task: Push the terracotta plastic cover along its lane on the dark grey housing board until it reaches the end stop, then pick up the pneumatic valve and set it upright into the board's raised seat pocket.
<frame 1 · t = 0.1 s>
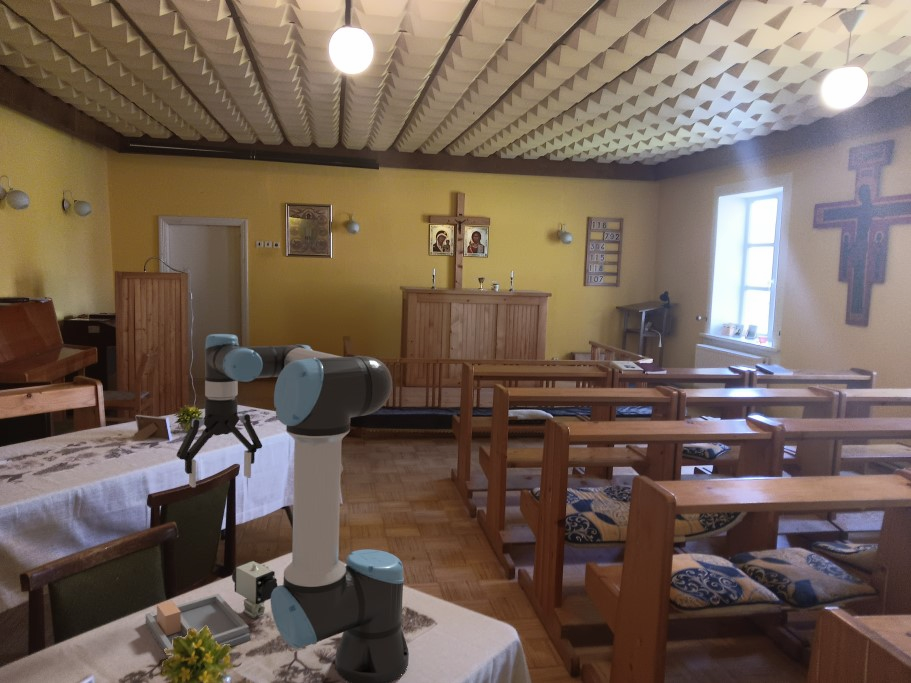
hand: (220, 481, 156), 28 cm above the table, fingers open, 13 cm apart
housing: (197, 631, 139), on the table
cover: (168, 617, 138), point 4 cm above the table, slide at 0.0 cm
pneumatic valve: (255, 613, 148), on the table
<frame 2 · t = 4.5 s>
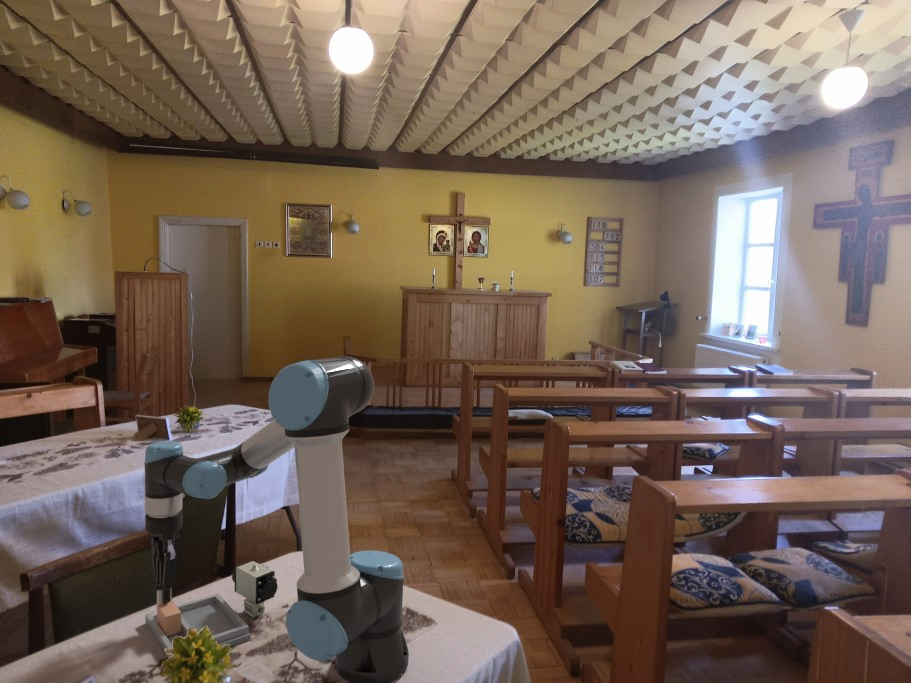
hand: (164, 613, 140), 3 cm above the table, fingers closed
cover: (169, 618, 138), point 4 cm above the table, slide at 0.4 cm, touching gripper
everything else where it was.
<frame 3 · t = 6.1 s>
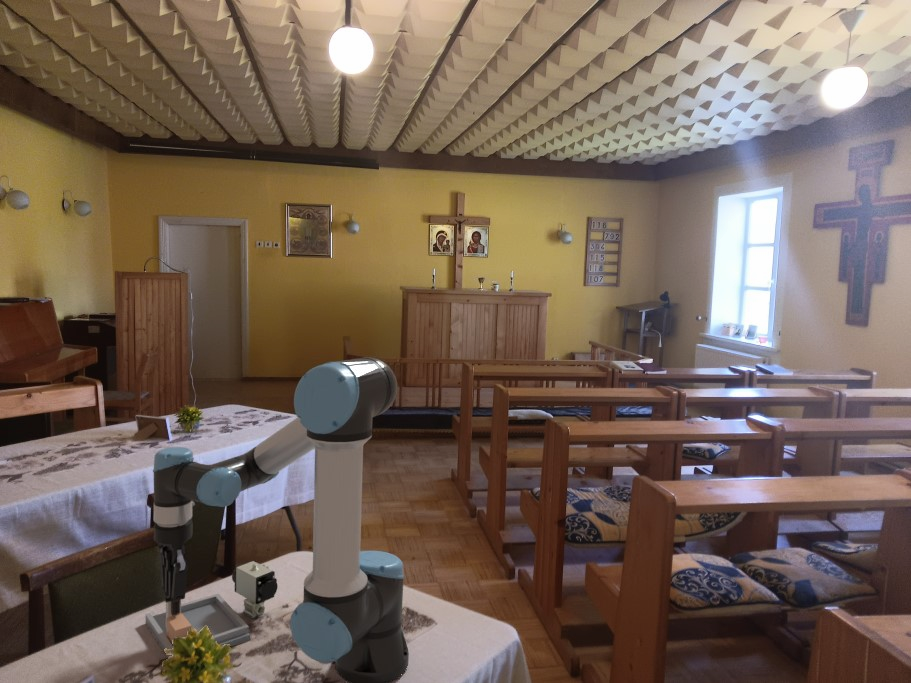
hand: (173, 626, 135), 3 cm above the table, fingers closed
cover: (178, 631, 133), point 4 cm above the table, slide at 6.9 cm, touching gripper
everything else where it was.
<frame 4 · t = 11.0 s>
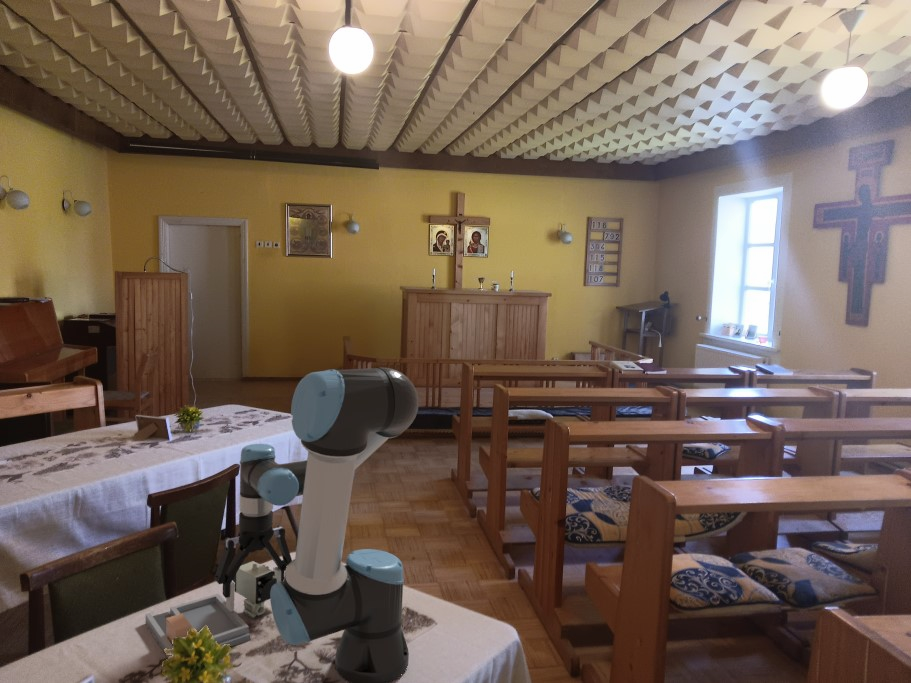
hand: (253, 601, 148), 3 cm above the table, fingers open, 11 cm apart
cover: (178, 631, 133), point 4 cm above the table, slide at 6.9 cm
everything else where it was.
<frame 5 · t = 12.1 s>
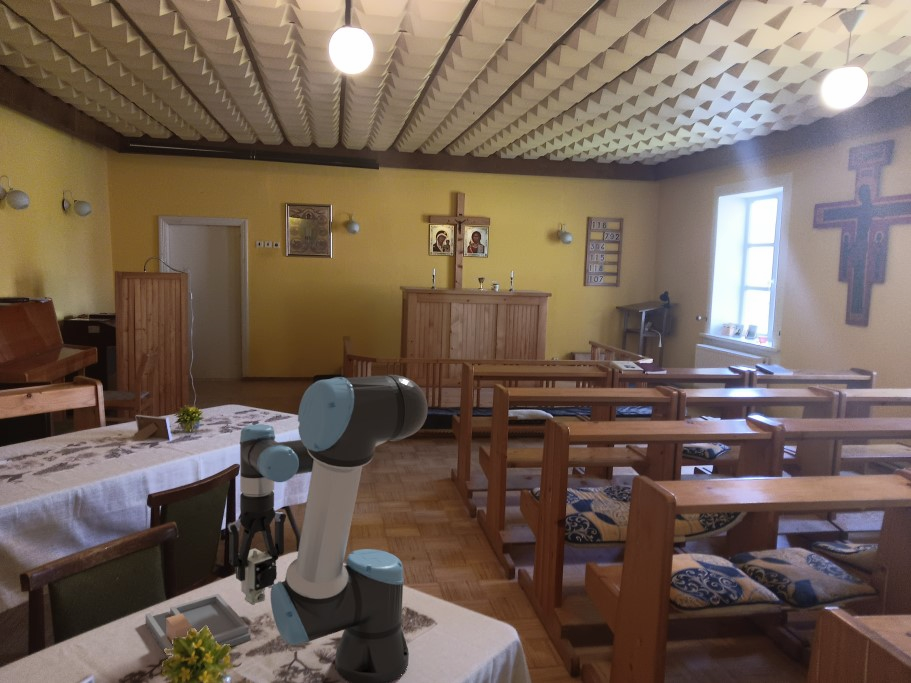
hand: (257, 588, 147), 6 cm above the table, fingers closed on pneumatic valve, 5 cm apart
pneumatic valve: (256, 601, 147), point 3 cm above the table, touching gripper
everything else where it was.
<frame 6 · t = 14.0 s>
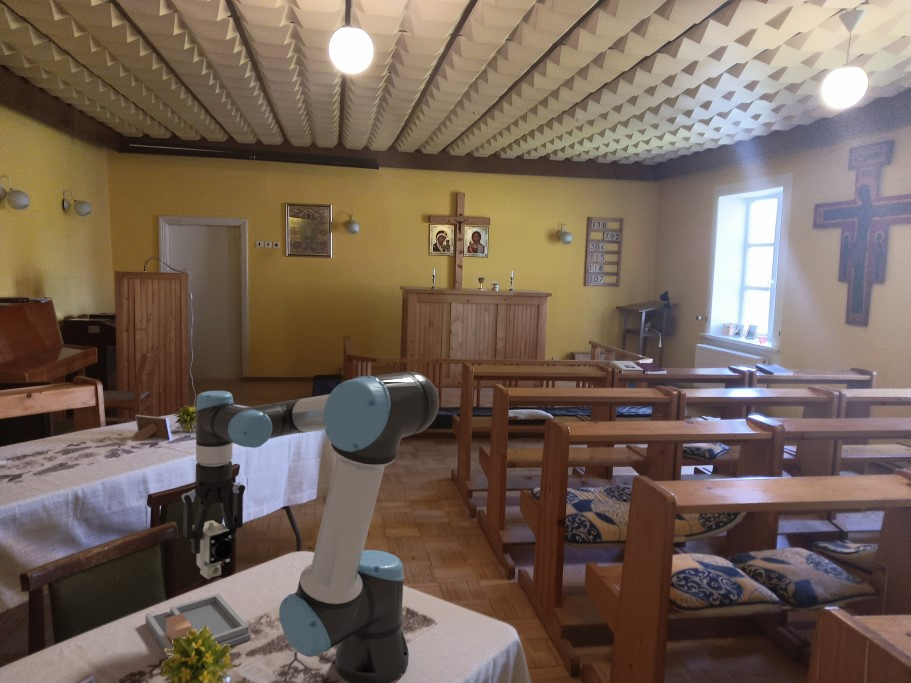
hand: (213, 562, 140), 15 cm above the table, fingers closed on pneumatic valve, 5 cm apart
pneumatic valve: (212, 575, 140), point 12 cm above the table, touching gripper
everything else where it was.
when the fingers open (4 cm above the table, at t = 16.2 s): pneumatic valve stays where it is, resting on housing.
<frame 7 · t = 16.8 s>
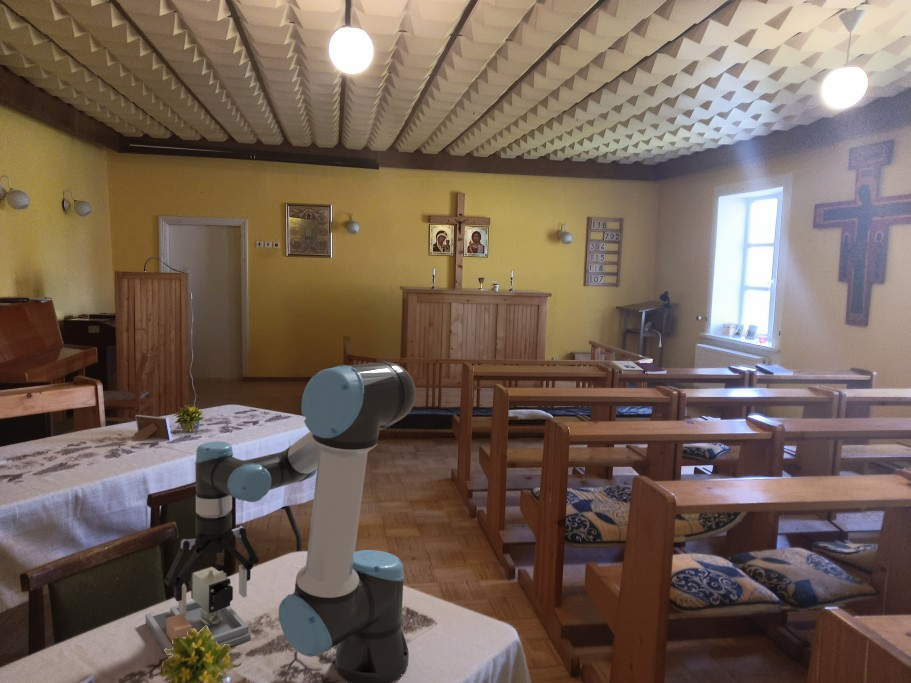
hand: (213, 603, 141), 5 cm above the table, fingers open, 13 cm apart
cover: (178, 631, 133), point 4 cm above the table, slide at 6.9 cm, touching gripper
pneumatic valve: (212, 622, 141), point 1 cm above the table, touching housing
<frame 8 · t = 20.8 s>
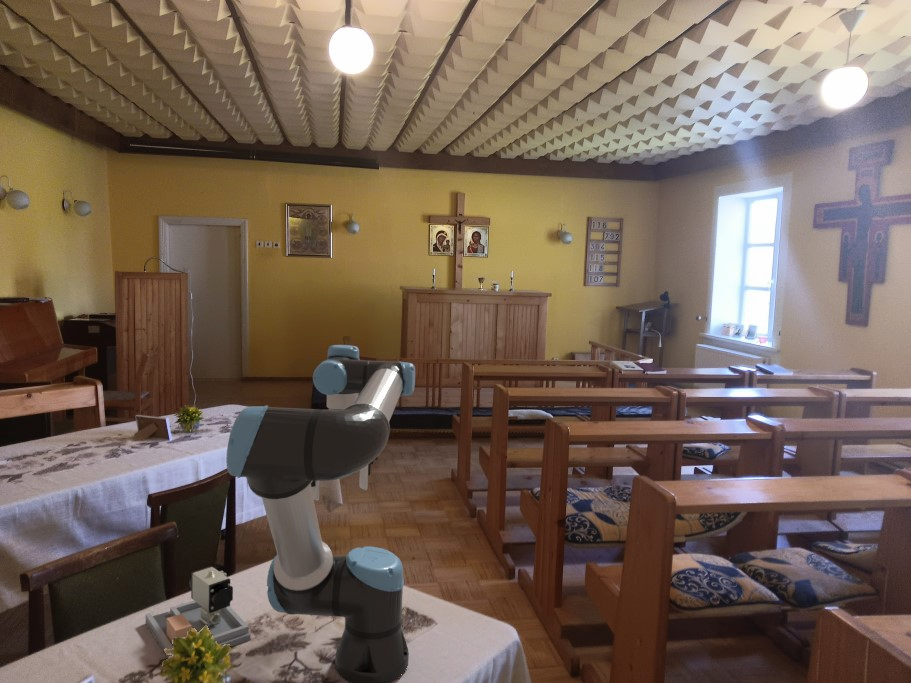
hand: (339, 493, 154), 27 cm above the table, fingers open, 13 cm apart
cover: (178, 632, 133), point 4 cm above the table, slide at 7.0 cm
everything else where it was.
at the end: cover slide at 7.0 cm; pneumatic valve inside the target area on the housing (0.9 cm from its centre), point 1.0 cm above the housing's base; pneumatic valve tilted 0° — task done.
